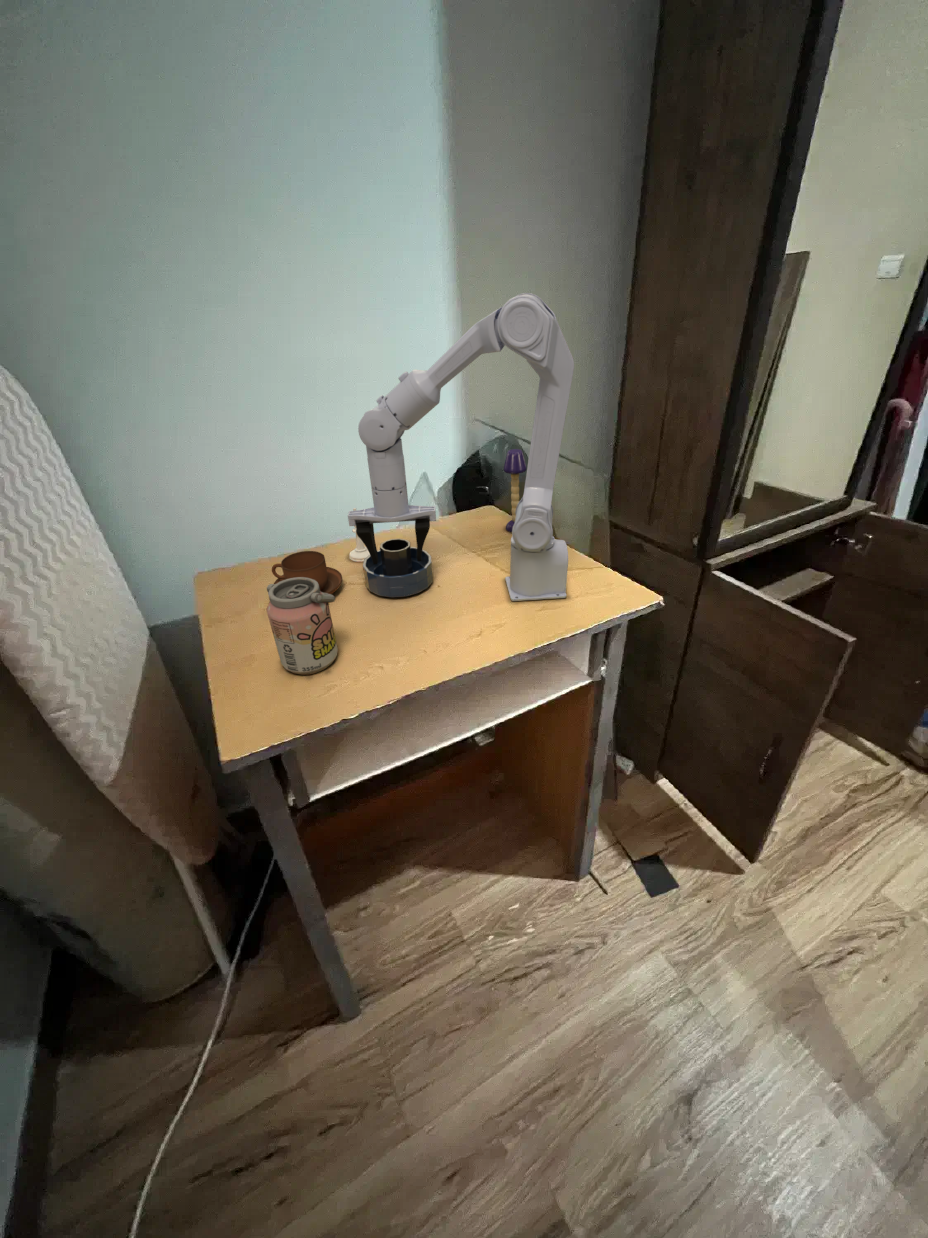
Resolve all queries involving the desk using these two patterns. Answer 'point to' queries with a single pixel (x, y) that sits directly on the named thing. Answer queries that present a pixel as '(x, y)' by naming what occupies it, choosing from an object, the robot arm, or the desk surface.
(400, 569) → the cup
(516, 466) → the toy lamp
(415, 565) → the bowl
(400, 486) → the robot arm
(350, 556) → the chess piece
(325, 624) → the beverage can
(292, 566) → the cup and saucer
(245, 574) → the desk surface
